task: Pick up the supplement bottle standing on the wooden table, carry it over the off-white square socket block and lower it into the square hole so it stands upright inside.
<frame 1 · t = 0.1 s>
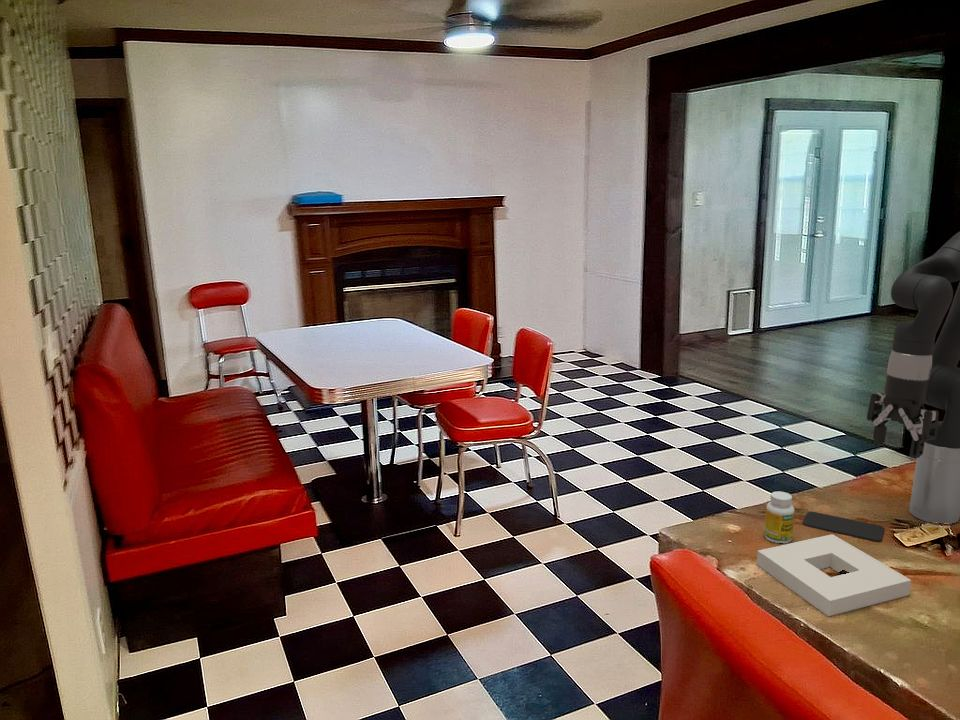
hand: (896, 450, 148), 17 cm above the table, tool pointing down, fingers open, 8 cm apart
phone: (842, 529, 153), on the table
socket block: (829, 579, 133), on the table
supplement bottle: (777, 538, 149), on the table
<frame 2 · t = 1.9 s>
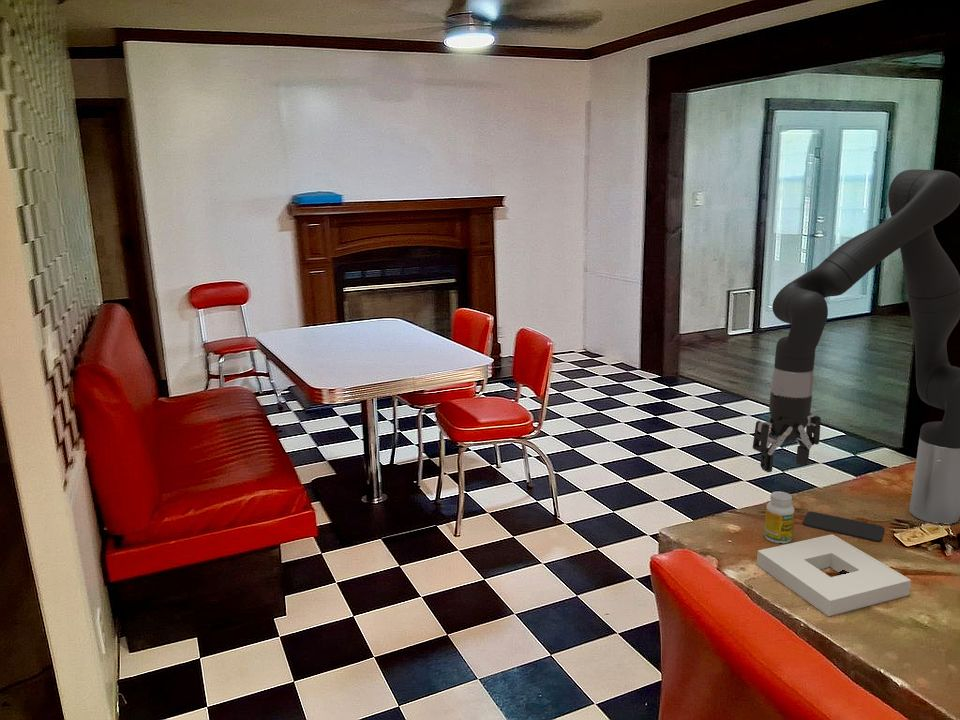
hand: (783, 467, 145), 16 cm above the table, tool pointing down, fingers open, 8 cm apart
nothing on the table moved.
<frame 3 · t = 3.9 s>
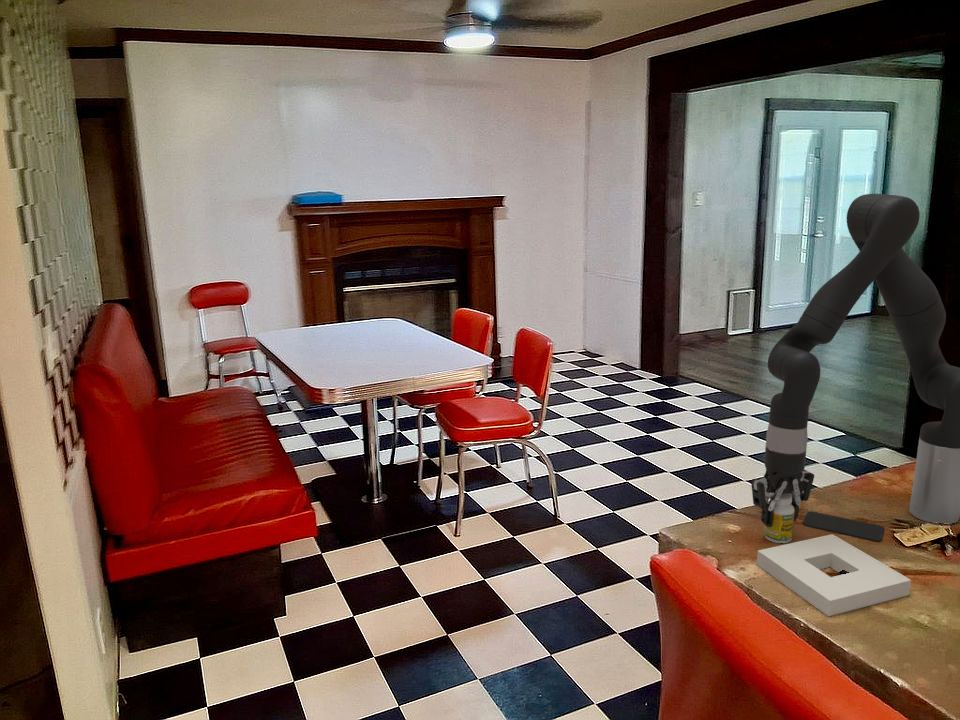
hand: (779, 522, 148), 3 cm above the table, tool pointing down, fingers closed on supplement bottle, 5 cm apart
supplement bottle: (777, 538, 149), on the table, touching gripper
everything else where it was.
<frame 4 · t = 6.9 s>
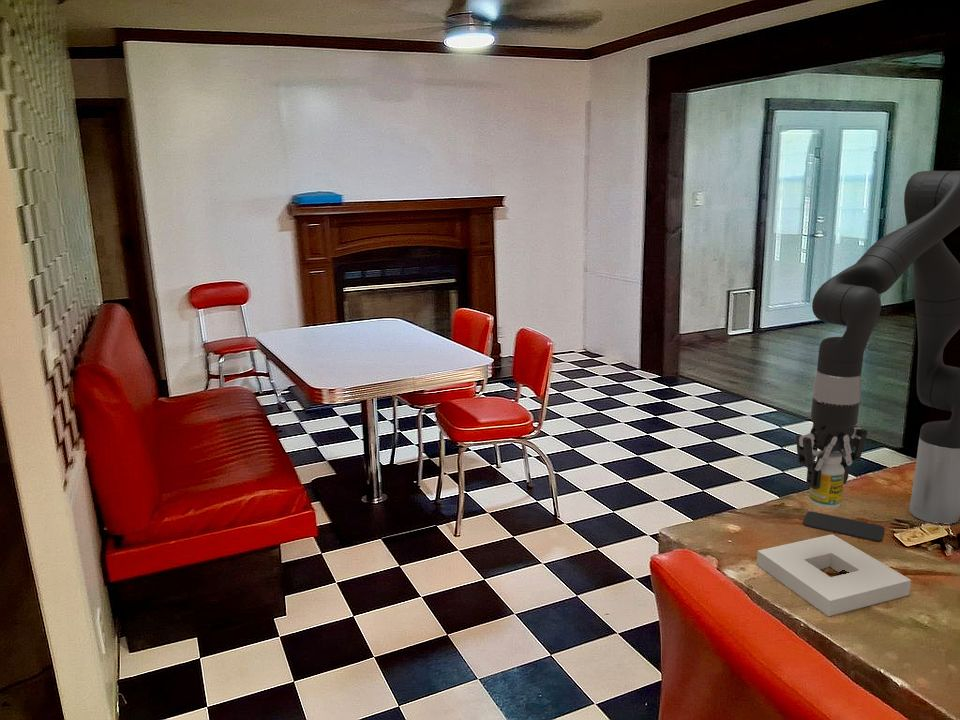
hand: (826, 484, 132), 18 cm above the table, tool pointing down, fingers closed on supplement bottle, 5 cm apart
supplement bottle: (824, 503, 133), point 14 cm above the table, touching gripper
everything else where it was.
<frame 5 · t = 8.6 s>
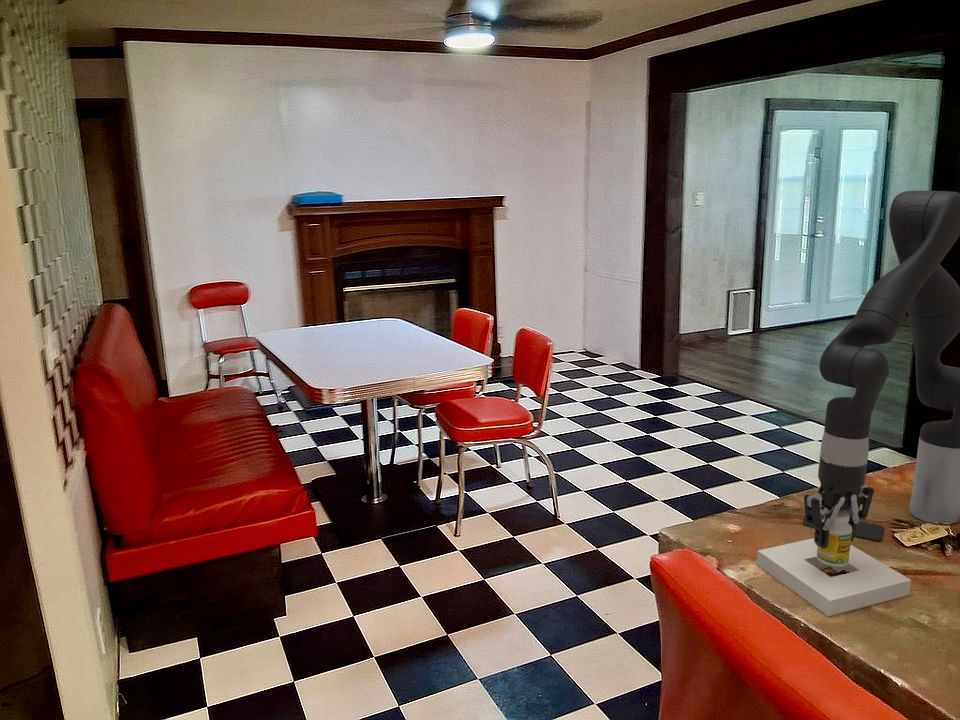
hand: (833, 542, 132), 7 cm above the table, tool pointing down, fingers closed on supplement bottle, 5 cm apart
supplement bottle: (832, 561, 133), point 4 cm above the table, touching gripper
everything else where it was.
when the fingers open (5 cm above the table, at t = 9.9 s): supplement bottle drops 1 cm, resting in socket block.
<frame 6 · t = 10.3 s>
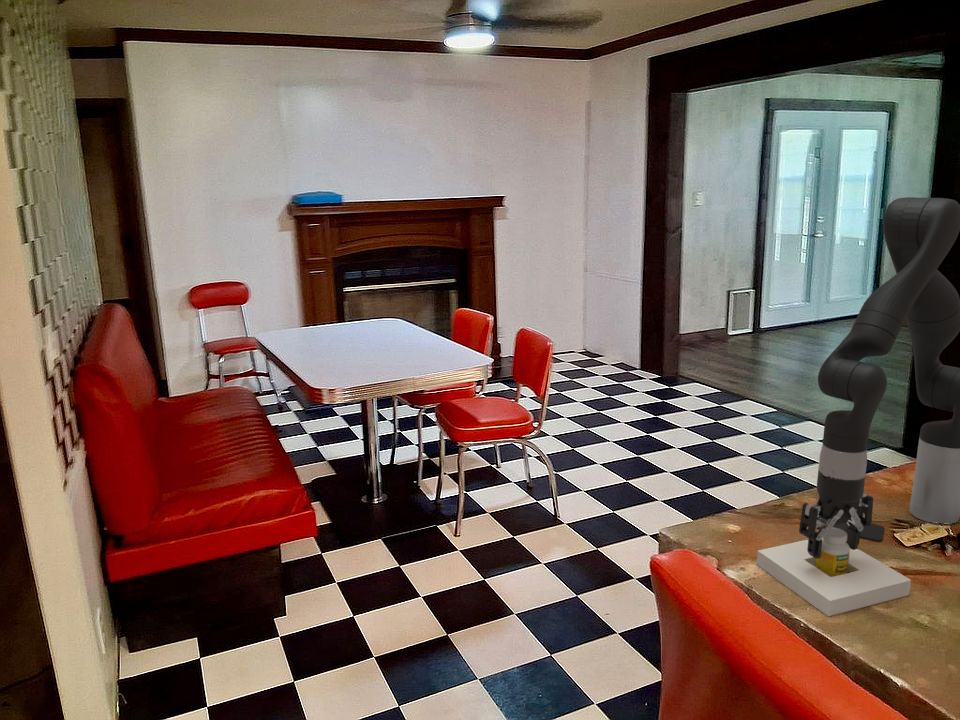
hand: (832, 552, 132), 6 cm above the table, tool pointing down, fingers open, 8 cm apart
supplement bottle: (829, 580, 134), resting in socket block
everything else where it was.
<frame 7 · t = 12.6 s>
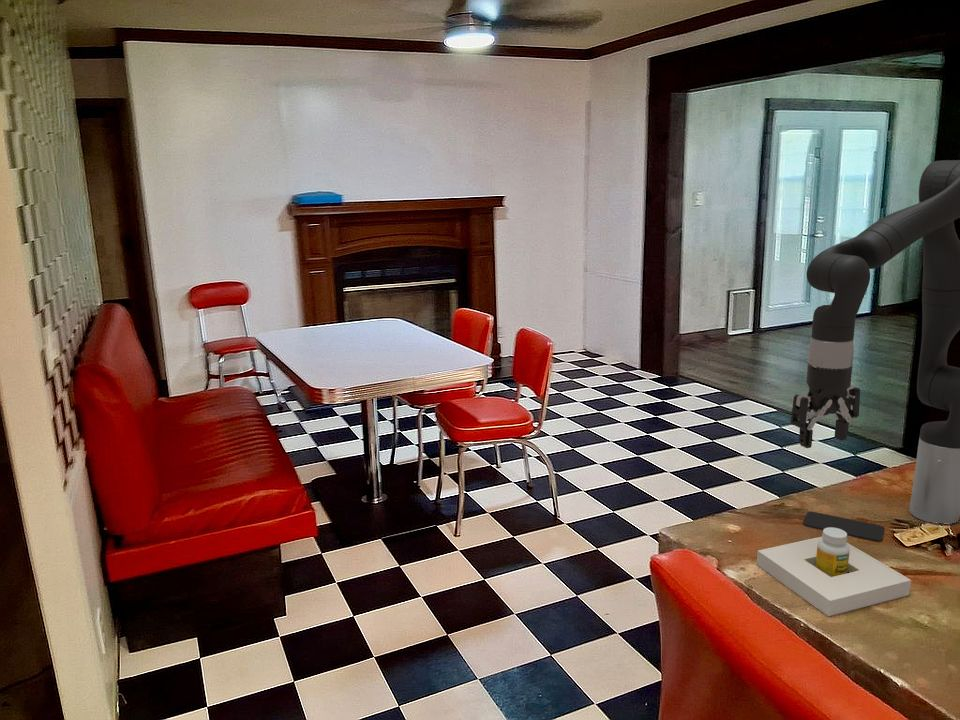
hand: (822, 443, 138), 23 cm above the table, tool pointing down, fingers open, 8 cm apart
nothing on the table moved.
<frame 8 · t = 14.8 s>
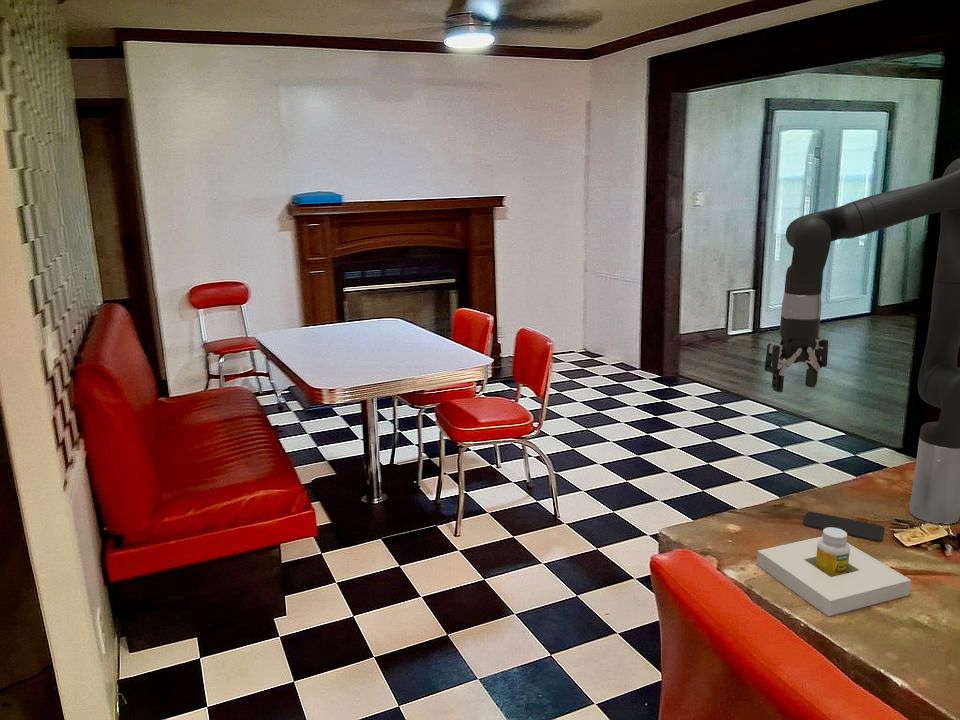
hand: (793, 389, 154), 28 cm above the table, tool pointing down, fingers open, 8 cm apart
nothing on the table moved.
at the end: supplement bottle 0.1 cm off-centre on the socket block, point 0.0 cm above the socket block's base; supplement bottle tilted 0°; the gripper is holding nothing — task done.
